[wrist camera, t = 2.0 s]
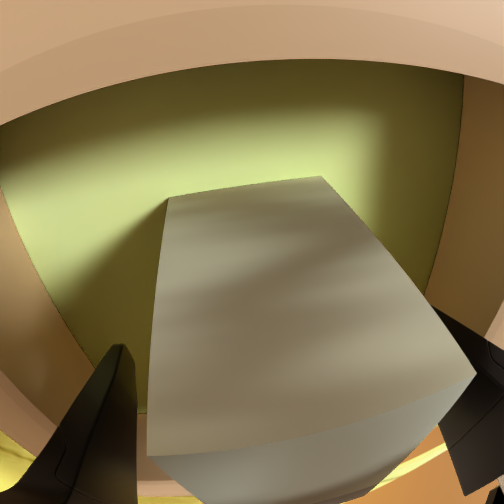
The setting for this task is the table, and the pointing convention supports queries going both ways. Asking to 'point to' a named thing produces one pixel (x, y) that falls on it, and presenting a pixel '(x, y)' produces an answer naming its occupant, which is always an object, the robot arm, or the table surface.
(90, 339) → the table surface
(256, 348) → the box
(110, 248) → the table surface
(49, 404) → the light brown square frame
